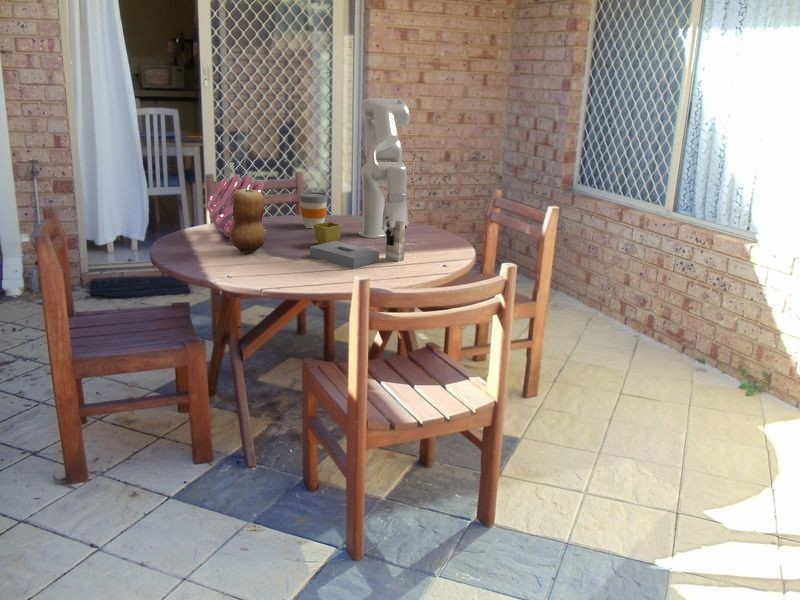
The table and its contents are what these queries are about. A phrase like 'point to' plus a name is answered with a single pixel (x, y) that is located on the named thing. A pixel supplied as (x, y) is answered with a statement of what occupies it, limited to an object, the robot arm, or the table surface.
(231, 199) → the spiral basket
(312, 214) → the reusable coffee cup
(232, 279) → the table surface
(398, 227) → the pine slat
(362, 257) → the grey slotted tile
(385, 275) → the table surface
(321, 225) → the flower pot
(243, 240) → the butternut squash
